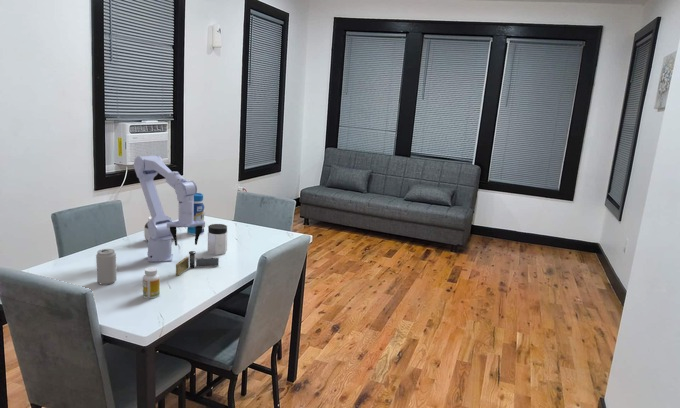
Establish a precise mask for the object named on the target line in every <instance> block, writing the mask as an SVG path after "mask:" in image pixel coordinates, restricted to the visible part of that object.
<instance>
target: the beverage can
mask: <svg viewBox="0 0 680 408" xmlns="http://www.w3.org/2000/svg"><path fill="white" fill-rule="evenodd" d="M116 255H117V253H116V252H115V249H112V248H103V249H99V250H98V251H97V253H96V255H95V256H96V257H95V258H96V278H97V279H96V281H97V283H99V284H100V283H101V284H100V285H103V284H108V285H112V284H114V283H115V282H117V256H116ZM113 282H114V283H113ZM111 283H112V284H111Z"/></svg>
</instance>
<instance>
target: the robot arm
mask: <svg viewBox="0 0 680 408" xmlns="http://www.w3.org/2000/svg"><path fill="white" fill-rule="evenodd" d="M133 168H134V172H135V174H136V175H135V176H136V178H138V181H139V183H140V186H141V190H142V192H143V195H144V199H145V201H146V205H147V207H148V210H149V213H150V216H151V217H152V218H151V219H150V221H149V222H148V221H147V222H148V224H147V225H148V233H149V236H150V237H151V239H148V241H147V252H146V253H147V254H146V255H147V262H149V263H150V262H172V261H173V255H174V254H173V253H172V240H171V238H174V239H173V241H174V246H178V240H177V234H178V233H177V228H188V227H195V235H194V245H195V246H197V245H198V241H199V238H200V235H201V234H200V233H201V232H202V227H204V228H206V222H205V220H204V221H194V195H195V194H196V193H198V192H197V191H198V188H197V184H196V183H195V182H194V180H187V178H185V177H183V176H182V175H181V174H180V172H179V171H174V170H173V171H172V170H171V169H170V168H169V167H168V166H167V165H166V164H165V163H164V160H163V158H162V157H161V156H160V155H158V154H155V155H144V156H143V155H141V156H139V155H137V156H136V157H135V158H134V162H133ZM158 174H159V175H161V176H162V177H163V178H165V182H166V183H167V184H168V185H169V186H170V187H171V188H173V190H174V192H175V195H176V199H177V202H178V221H173V220H172V217H171V216H169V215H166V214H165V211H164V208H163V206H162V201H161V199H160V196H159V193H158V190H157V188H156V185H155V181H154V179H155V177H157V176H158ZM158 223H159V224H158Z"/></svg>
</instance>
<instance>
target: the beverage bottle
mask: <svg viewBox="0 0 680 408" xmlns="http://www.w3.org/2000/svg"><path fill="white" fill-rule="evenodd" d="M203 201H204V194H203V193H201V192H199V193H198V192H197V193H196V194H195V195H194V221H205V213H206V211H205V204H204V203H203ZM186 233H187V234H188V235H193V236H195V227H187V232H186ZM204 233H205V227H202V232H201V233H200V235H203V234H204Z"/></svg>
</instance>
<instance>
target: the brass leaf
mask: <svg viewBox="0 0 680 408" xmlns="http://www.w3.org/2000/svg"><path fill="white" fill-rule="evenodd" d="M188 269H190V256H189V257H188V256H186V257H184V258H183V259H181V260H180V261H178V262H177V263H176V264H175V276H180V275H181V274H182V273H184V272H185V271H186V270H188Z"/></svg>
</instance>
